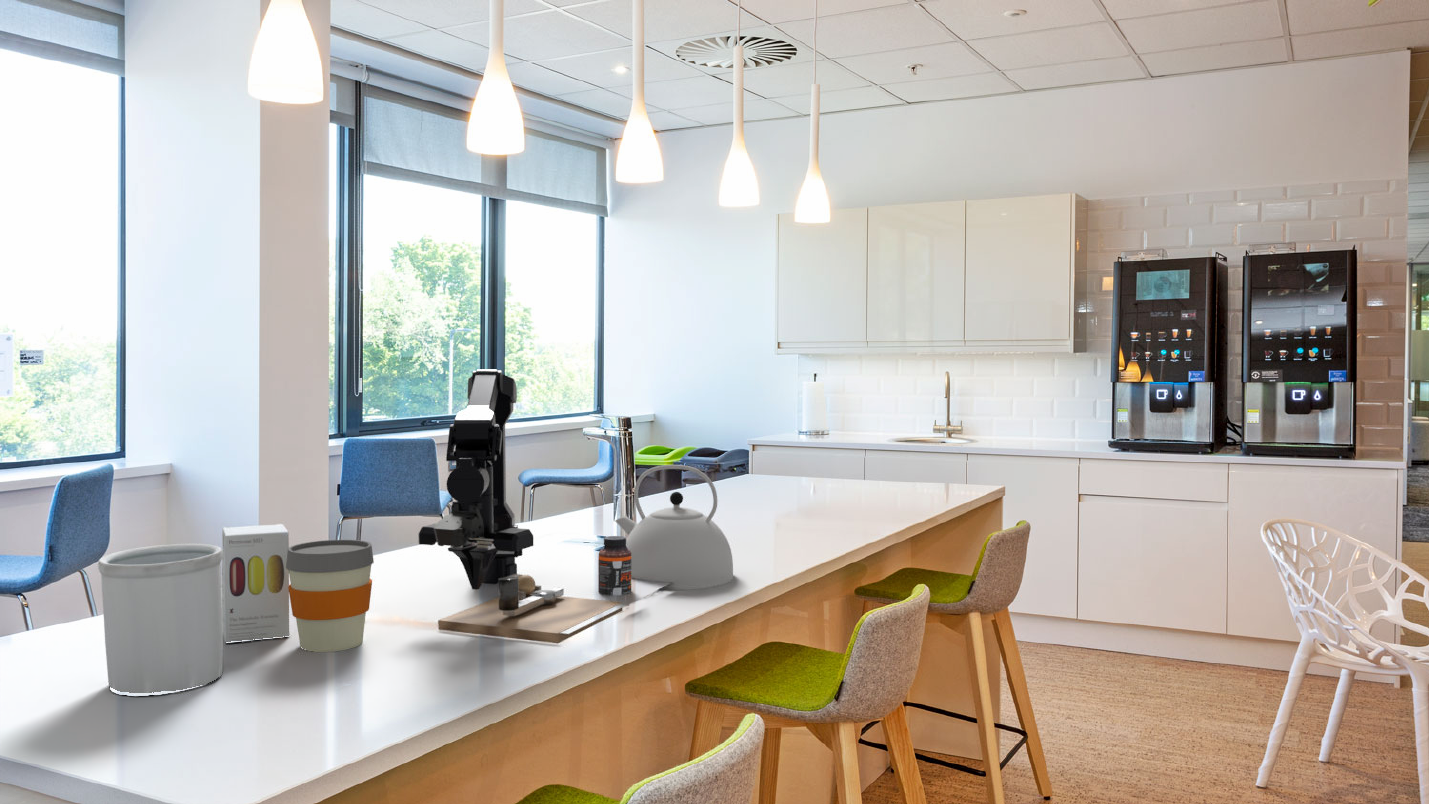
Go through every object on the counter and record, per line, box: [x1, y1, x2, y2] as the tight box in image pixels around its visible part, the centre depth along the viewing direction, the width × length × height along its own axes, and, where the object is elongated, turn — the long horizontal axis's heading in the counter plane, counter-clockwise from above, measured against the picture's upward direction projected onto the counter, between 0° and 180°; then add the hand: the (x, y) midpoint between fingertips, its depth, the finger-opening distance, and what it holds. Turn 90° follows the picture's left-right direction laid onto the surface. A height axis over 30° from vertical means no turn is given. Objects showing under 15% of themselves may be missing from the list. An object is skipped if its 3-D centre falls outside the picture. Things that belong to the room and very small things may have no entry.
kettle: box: [615, 464, 735, 591], centre depth 209 cm, size 25×23×23 cm
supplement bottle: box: [597, 535, 632, 596], centre depth 189 cm, size 6×6×11 cm
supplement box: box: [221, 523, 290, 643], centre depth 165 cm, size 10×9×17 cm
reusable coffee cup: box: [286, 539, 375, 653], centre depth 160 cm, size 13×13×15 cm
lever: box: [497, 577, 565, 616], centre depth 176 cm, size 18×4×6 cm, turn 159°
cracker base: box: [437, 573, 623, 644], centre depth 176 cm, size 22×24×4 cm
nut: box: [518, 574, 536, 595], centre depth 186 cm, size 4×4×4 cm
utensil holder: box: [97, 543, 224, 693], centre depth 142 cm, size 15×15×18 cm
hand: (476, 589), depth 172 cm, fingers closed
